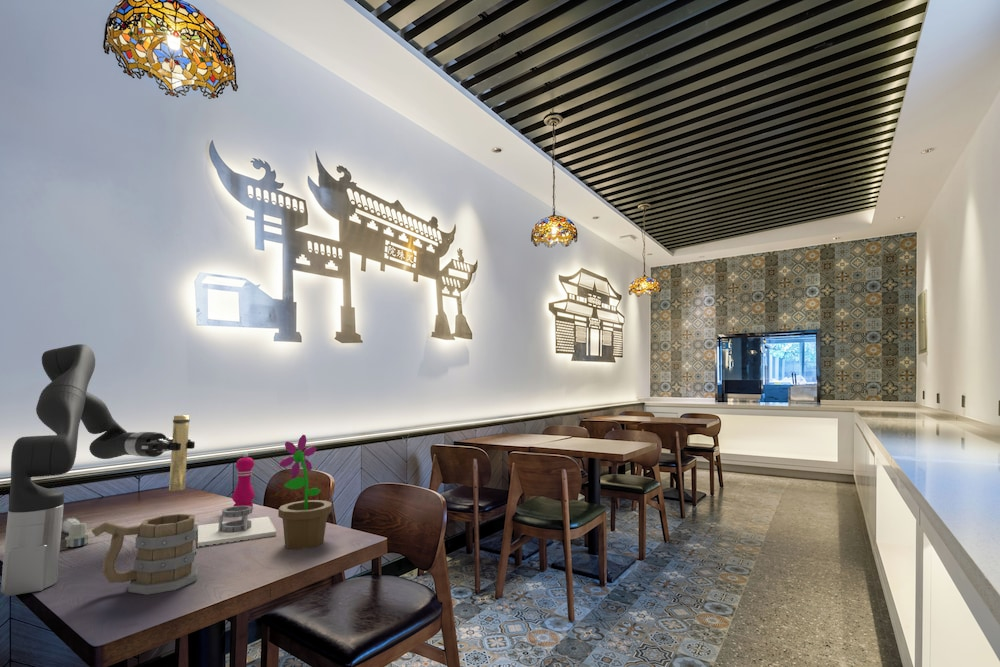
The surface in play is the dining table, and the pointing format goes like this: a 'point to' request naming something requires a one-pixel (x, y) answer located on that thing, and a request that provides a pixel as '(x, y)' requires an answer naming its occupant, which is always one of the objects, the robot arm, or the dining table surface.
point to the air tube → (179, 453)
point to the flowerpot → (303, 503)
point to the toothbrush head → (75, 532)
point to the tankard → (154, 553)
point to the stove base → (235, 527)
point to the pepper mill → (244, 482)
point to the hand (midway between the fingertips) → (186, 445)
